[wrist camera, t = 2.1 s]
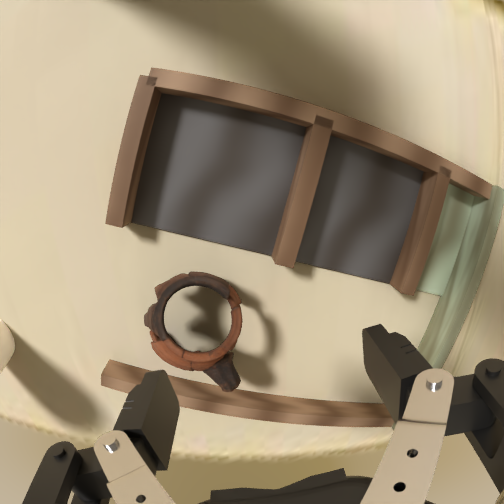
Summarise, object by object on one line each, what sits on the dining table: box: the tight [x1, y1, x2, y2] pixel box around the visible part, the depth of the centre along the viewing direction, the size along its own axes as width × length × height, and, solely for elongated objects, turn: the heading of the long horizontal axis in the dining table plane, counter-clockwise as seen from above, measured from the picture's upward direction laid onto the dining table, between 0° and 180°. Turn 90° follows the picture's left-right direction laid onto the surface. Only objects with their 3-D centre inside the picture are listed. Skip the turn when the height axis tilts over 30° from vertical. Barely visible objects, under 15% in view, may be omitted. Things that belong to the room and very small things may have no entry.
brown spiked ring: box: [144, 272, 242, 392], centre depth 30 cm, size 12×10×8 cm
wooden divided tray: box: [101, 68, 504, 431], centre depth 29 cm, size 38×31×4 cm
